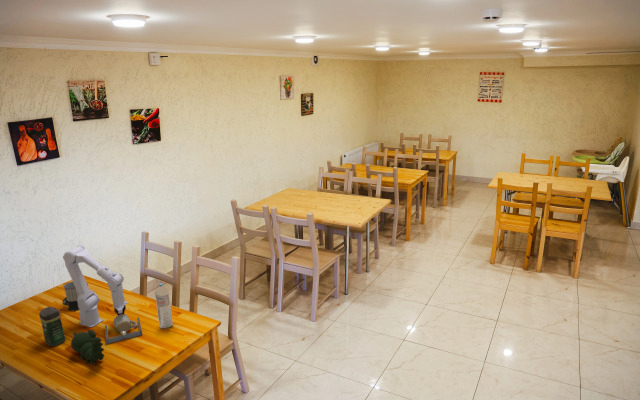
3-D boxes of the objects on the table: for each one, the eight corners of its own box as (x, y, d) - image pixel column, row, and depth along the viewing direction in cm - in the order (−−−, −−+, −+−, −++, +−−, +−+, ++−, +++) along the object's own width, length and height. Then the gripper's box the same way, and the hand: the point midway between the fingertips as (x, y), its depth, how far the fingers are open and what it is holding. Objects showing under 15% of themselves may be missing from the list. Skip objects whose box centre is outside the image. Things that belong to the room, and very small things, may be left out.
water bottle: (175, 323, 237) (170, 282, 230) (166, 330, 231) (160, 288, 224) (166, 321, 240) (160, 280, 233) (156, 327, 234) (150, 285, 227)
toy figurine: (111, 364, 208) (85, 341, 222) (107, 330, 201) (80, 310, 215) (91, 374, 201) (66, 351, 214) (86, 340, 194) (60, 318, 208)
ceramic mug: (117, 335, 227) (116, 323, 225) (114, 328, 233) (112, 316, 231) (139, 329, 233) (137, 316, 231) (134, 322, 239) (133, 309, 237)
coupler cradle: (105, 329, 233) (104, 322, 232) (139, 321, 240) (138, 314, 239) (106, 345, 219) (105, 337, 218) (142, 335, 227) (141, 328, 226)
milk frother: (80, 311, 251) (75, 288, 247) (53, 311, 252) (48, 288, 248) (93, 299, 265) (89, 276, 261) (67, 299, 266) (63, 277, 261)
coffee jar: (68, 341, 223) (61, 309, 218) (51, 348, 217) (44, 316, 212) (59, 334, 229) (52, 303, 224) (43, 342, 223) (35, 310, 218)
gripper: (127, 300, 227) (130, 323, 231) (125, 288, 240) (128, 310, 244) (112, 303, 224) (116, 326, 228) (111, 291, 237) (114, 313, 240)
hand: (121, 318), depth 236 cm, fingers closed
